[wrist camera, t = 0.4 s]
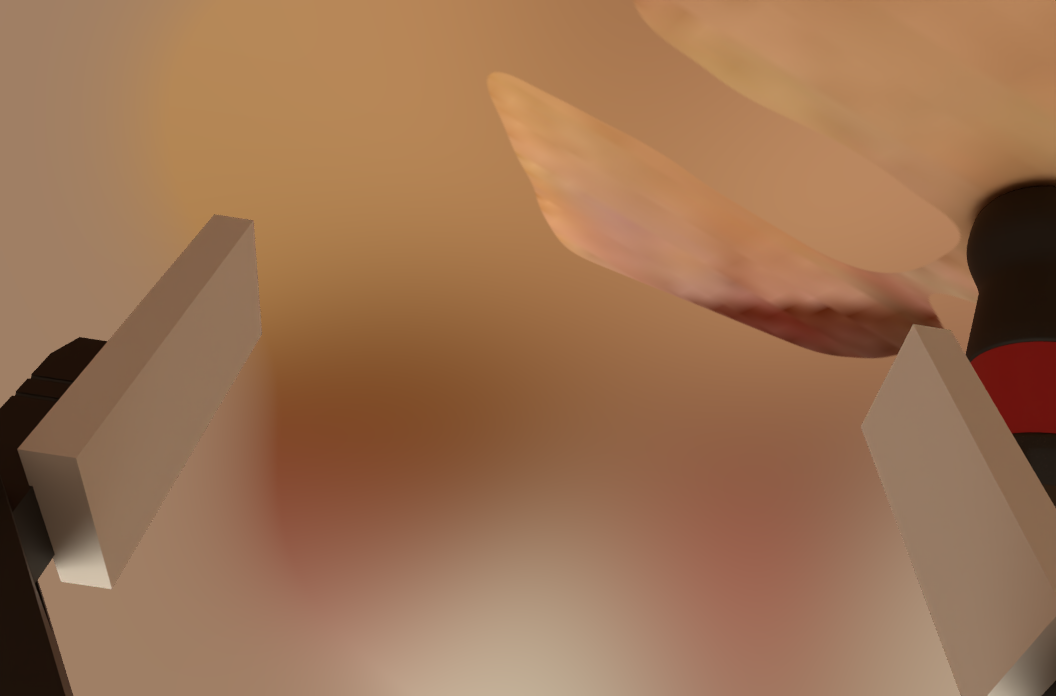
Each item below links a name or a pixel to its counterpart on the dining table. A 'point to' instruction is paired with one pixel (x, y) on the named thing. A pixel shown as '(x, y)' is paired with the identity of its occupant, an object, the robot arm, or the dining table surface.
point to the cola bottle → (1018, 317)
